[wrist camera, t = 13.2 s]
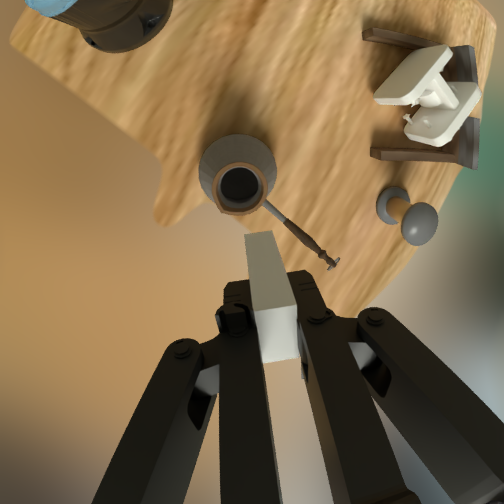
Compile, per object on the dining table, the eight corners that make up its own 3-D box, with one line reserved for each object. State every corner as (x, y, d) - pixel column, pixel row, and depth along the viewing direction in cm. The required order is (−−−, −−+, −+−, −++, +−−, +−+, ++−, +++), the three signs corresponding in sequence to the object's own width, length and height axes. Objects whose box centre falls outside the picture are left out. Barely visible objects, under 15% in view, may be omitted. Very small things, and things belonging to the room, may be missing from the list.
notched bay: (361, 32, 34) (387, 19, 26) (443, 50, 34) (474, 47, 26) (370, 156, 44) (397, 166, 36) (447, 158, 44) (477, 169, 36)
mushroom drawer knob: (376, 187, 46) (406, 205, 38) (408, 185, 47) (440, 203, 38) (374, 224, 50) (401, 248, 41) (405, 221, 50) (434, 243, 41)
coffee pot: (185, 176, 44) (166, 205, 30) (230, 117, 40) (230, 118, 27) (287, 249, 51) (307, 300, 38) (332, 200, 47) (369, 237, 34)
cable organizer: (411, 47, 35) (452, 39, 24) (445, 90, 38) (487, 93, 28) (366, 97, 39) (404, 96, 29) (405, 141, 43) (445, 153, 33)
